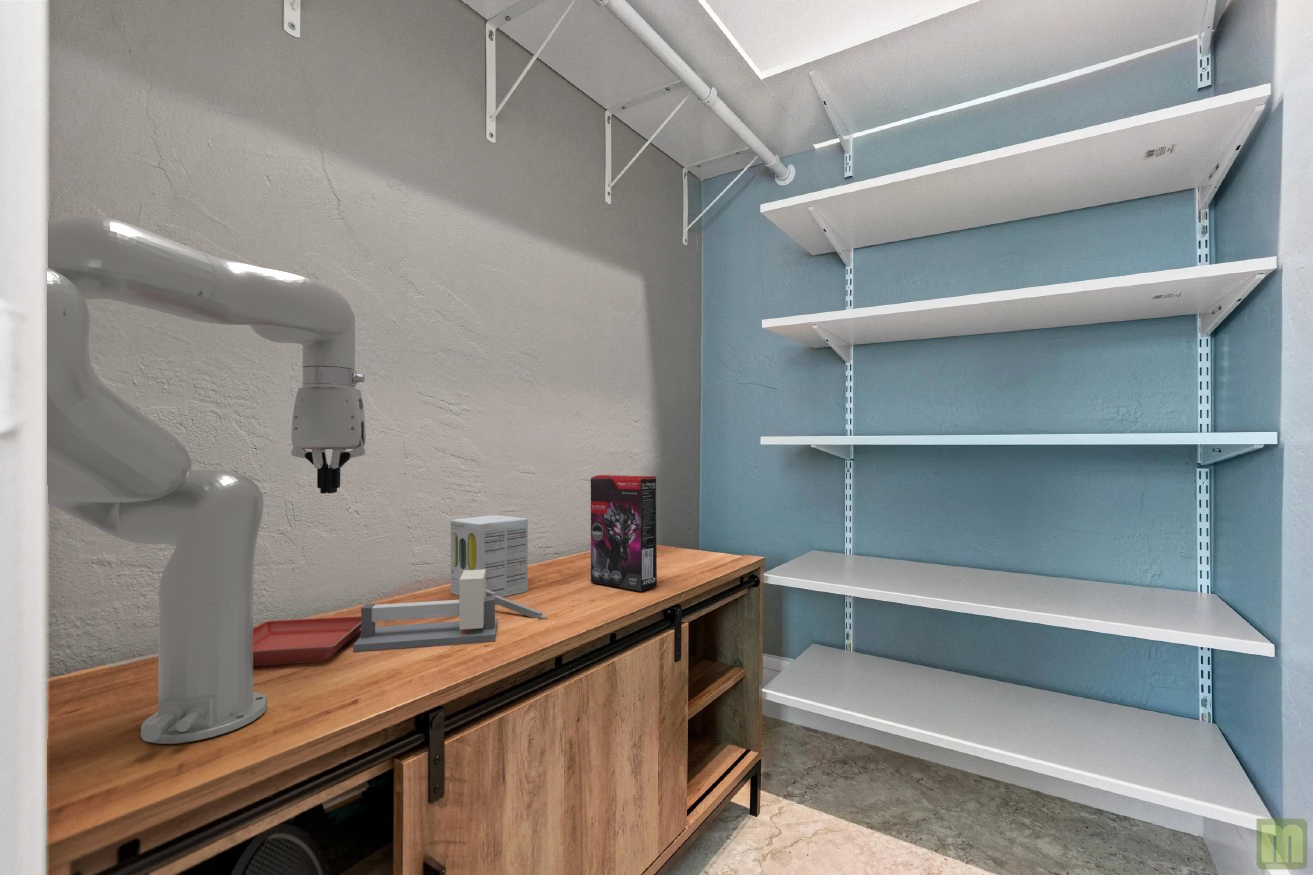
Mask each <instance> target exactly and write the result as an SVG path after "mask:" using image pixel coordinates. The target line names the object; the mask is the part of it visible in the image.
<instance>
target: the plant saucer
mask: <svg viewBox="0 0 1313 875" xmlns="http://www.w3.org/2000/svg"><path fill="white" fill-rule="evenodd" d="M359 631H361V615H359V616H340V617H338V616H337V617H319V618H302V619H301V618H300V619H281V620H268V621H264V622H261V623H260V624H257V626H255V627H254V626H253V667H256V666H257V667H259V665H260V666H273V665H274V666H276V665H287V664H289V665H291V664H307V663H322V662H323V663H324V662H325V661H328V660H329V659H330V658H331V657H332V656H334V654H336V653H337V652H338V651H339V650H340V649H341V648H342V647H343V646H345V645H346V644H347V643H348V642H349V641H350V640H352V639H353V638H354V637H355V636H356V635H357V634H358V633H359Z"/></svg>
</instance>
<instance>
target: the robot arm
mask: <svg viewBox="0 0 1313 875" xmlns="http://www.w3.org/2000/svg"><path fill="white" fill-rule="evenodd" d="M47 220H48V269H47V485H48V503H47V504H48V505H50V506H52V507H54V508H56V509H58V510H59V511H62V512H64V513H66V514H67V515H69V516H71V517H73V518H75V519H78V520H79V521H81V522H84V523H85V524H87V525H90V526H92V527H93V528H96V529H98V530H100V531H102V532H104V533H106V534H108V535H111V536H113V537H115V538H118V539H120V540H123V541H127V542H130V543H135V544H144V545H171V546H175V548H174V549H173V552H172V554H171V556H170V558H169V559H168V561H167V563H166V565H165V567H164V569H163V571H162V574H161V576H160V577H161V578H160V580H159V586H158V587H159V588H158V675H157V676H158V678H157V679H158V680H157V682H158V683H157V684H158V689H157V690H158V692H157V695H158V698H157V699H158V700H157V707H158V710H157V711H156V712H155V713H153V714H152V715H150V716H149V717H147V718H146V719H145V721H144V722H142V724H141V726H140V737H141V740H143V741H145V742H148V743H152V744H158V745H159V744H161V745H162V744H163V745H171V744H182V743H190V742H197V741H200V740H206V739H211V738H213V737H216V736H217V737H218V736H220V735H225V734H227V733H230V732H232V731H235V730H237V729H241V728H242V727H244V726H246V725H248V724H250V723H252V722H254V721H255V720H256V719H258V718H260V717H261V716H262V715H263V714H264V713H265V712H266V710H267V708H268V698H267V696H266V695H265V694H263V693H260V692H258V691H254V666H253V628H254V605H255V604H254V598H255V597H254V596H255V595H254V594H255V593H254V577H255V576H254V574H255V572H254V570H255V569H254V568H255V557H256V555H255V554H256V553H255V552H256V546H257V541H258V536H259V531H260V528H261V524H262V518H263V515H264V507H265V506H264V496H263V494H262V491H261V489H260V488H259V486H258V485H257V484H256V482H255V481H253V480H252V479H251V478H250V477H248V476H246V475H244V474H242V473H238V472H236V471H232V470H227V469H226V470H225V469H211V468H210V469H207V468H206V469H205V468H203V469H202V468H201V469H200V468H199V469H196V468H195V469H192V459H191V458H192V457H191V456H190V454H189V452H188V450H187V448H186V447H185V445H183V442H181V441H180V440H179V439H178V438H177V437H176V436H175V435H173V434H172V433H171V432H169V431H168V430H167V429H165V428H164V427H162V426H161V425H160V424H158V423H156V422H155V421H154V420H152V419H151V418H149V417H148V416H147V415H146V414H144V413H143V412H141V411H140V410H139V409H137V408H135V407H134V406H133V405H131V404H130V403H129V402H127V401H126V400H125V399H123V398H122V397H120V396H119V395H118V394H116V393H115V392H114V391H113V390H112V389H111V388H110V387H108V386H107V385H106V384H105V383H104V382H103V381H102V380H101V379H100V378H99V376H98V375H97V374H96V372H95V370H94V367H93V365H92V360H91V356H90V331H91V330H90V329H91V319H90V311H89V307H88V304H87V302H86V300H94V299H95V300H100V299H101V300H102V299H103V300H111V301H116V302H121V303H124V304H128V305H132V306H136V307H139V308H145V309H149V310H152V311H153V310H154V311H156V312H157V311H158V312H160V313H164V314H168V315H172V316H176V317H180V318H184V319H188V320H191V321H194V322H195V321H196V322H199V323H207V324H219V325H227V326H247V325H248V326H250V327H251V329H252V331H253V332H255V333H256V334H257V335H258V336H260V337H262V338H263V339H265V340H268V341H271V342H275V343H280V344H282V343H283V344H300V345H301V346H302V387H298V389H297V392H296V396H295V400H294V405H293V412H292V420H291V434H290V435H291V444H292V450H291V452H290V454H291V456H292V457H295V458H301V459H305V460H307V461H308V462H309V463H310V464H312V466H314V468H315V469H316V472H317V475H316V481H317V482H316V486H317V489H319V490H320V492H319V493H320V494H323V495H326V494H335V493H337V492H338V489H340V487H341V468H343V467H344V465H345V464H347V463H348V461H349V460H351V459H354V458H358V457H362V456H365V455H366V449H365V446H366V440H367V438H366V436H367V432H366V431H367V430H366V418H365V417H366V416H365V408H364V402H363V396H362V391H361V389H358V388H356V387H357V385H358V384H359V383H364V382H365V375H364V373H359V372H357V371H356V316H355V313H354V311H353V309H352V307H351V305H350V303H349V301H348V300H347V299H346V298H345V297H344V296H343V294H341V293H340V292H339V291H337V290H336V289H334V288H331V287H330V286H328V285H325V284H323V283H320V282H319V281H316V280H313V279H311V278H308V277H306V276H305V277H304V276H302V275H298V274H294V273H292V272H291V273H290V272H286V271H282V270H278V269H277V270H276V269H272V268H267V267H263V266H258V265H255V264H250V263H244V262H242V261H237V260H236V261H235V260H231V259H225V258H221V257H218V256H215V255H212V254H209V253H206V252H204V251H201V250H199V249H197V248H193V247H191V246H188V245H186V244H183V243H180V242H177V241H175V240H172V239H170V238H167V237H165V236H162V235H160V234H157V233H154V232H153V231H149V230H147V229H144V228H141V227H138V226H136V225H133V224H131V223H128V222H125V221H122V220H119V219H115V218H110V217H104V216H95V215H94V216H93V215H90V216H87V215H86V216H77V217H66V218H54V219H51V218H50V219H47ZM310 450H311V451H310ZM326 450H332V452H331V458H330V463H329V462H328V456H327V451H326ZM346 450H347V451H346Z"/></svg>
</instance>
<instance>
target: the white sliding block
mask: <svg viewBox="0 0 1313 875" xmlns="http://www.w3.org/2000/svg"><path fill="white" fill-rule="evenodd" d="M484 598H486V569H483V570H464V571H463V573H462V576H461V578H460V596H459V600H460V616H459V621H460V630H462V629H476V628H483V626H484V622H485V615H484Z"/></svg>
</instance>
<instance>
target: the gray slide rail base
mask: <svg viewBox="0 0 1313 875" xmlns="http://www.w3.org/2000/svg"><path fill="white" fill-rule="evenodd" d="M360 612H361V613H360V616H361V629H360V636H359V638H358V639H357V640H356V642H354V643H353V653H357V652H358V653H359V652H370V651H386V650H397V649H398V650H399V649H411V648H423V647H425V648H426V647H437V646H451V645H463V644H476V643H477V644H478V643H490V642H491V641H493V642H496V637H497V630H498V618H496V604H495V596H488V597H486V598H484V615H485V622H484V626H483V628H476V629H462V630H460V620H455V621H454V620H453V621H441V622H440V621H439V622H427V623H413V624H398V625H397V624H396V625H383V626H382V625H380V626H376V623H377V622H390V621H392V622H394V621H406V620H407V621H408V620H420V619H421V620H422V619H423V620H424V619H437V618H453V617H460V599H450V600H447V599H446V600H433V601H417V602H415V601H413V602H399V603H398V602H397V603H383V604H376V603H373V602H372V603H371V602H370V603H365V604H364V605H362V607H361V609H360ZM491 643H492V642H491Z"/></svg>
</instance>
